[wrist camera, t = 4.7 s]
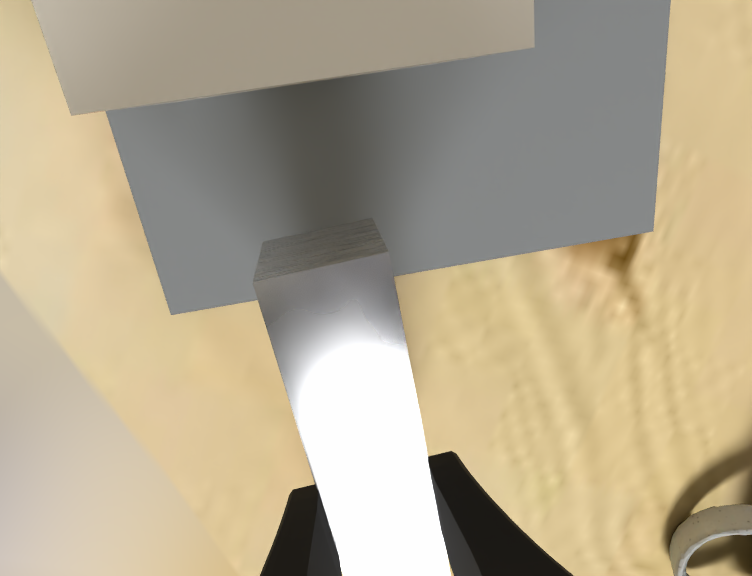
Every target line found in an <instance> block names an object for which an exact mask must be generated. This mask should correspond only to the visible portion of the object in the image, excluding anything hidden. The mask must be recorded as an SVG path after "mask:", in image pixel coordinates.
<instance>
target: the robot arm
mask: <svg viewBox="0 0 752 576" xmlns="http://www.w3.org/2000/svg"><path fill="white" fill-rule="evenodd" d="M428 459H429V463H428V466H429V471H430V476H431V481H432V487H433V492H434V497H435V502H436V507H437V513H438V518H439V523H440V528H441V533H442V537H443V541H444V544H445V548H446V551H447V555H448V558H449V562H450V565H451V568H452V571H453V573H454V576H573V575H572V574H571V573H570V572H568V571H567V570H566V569H565V568H564V567H562V566H561V565H560V564H559V563H558V562H556V561H555V560H554V559H553V558H552V557H551V556H549V555H548V554H547V553H546V552H545V551H544V550H543V549H542V548H541V547H539V546H538V545H537V544H536V543H535V542H534V541H533V540H532V539H531V538H530V537H529V536H528V535H527V534H526V533H525V532H523V531H522V530H521V529H520V528H519V527H518V526H517V525H516V524H515V523H514V522H513V521H512V520H511V519H510V518H509V517H508V515H507V514H506V513H505V512H504V511H503V510H502V509H501V508H500V507H499V506H498V505H497V504H496V503H495V502H494V501H493V500H492V498H491V497H490V496H489V495H488V494H487V493H486V492H485V491H484V489H483V488H482V487H481V486H480V485H479V483H478V482H477V481H476V480H475V479H474V477H473V476H472V475H471V474H470V472H469V471H468V470H467V468H466V467H465V466H464V464H463V463H462V461H461V460H460V459H459V457H458V455H457V454H456V453H454V452H452V451H449V452H445V453H441V454H437V455H433V456H429V457H428ZM260 576H342V572H341V564H340V557H339V554H338V551H337V548H336V545H335V541H334V538H333V535H332V532H331V528H330V525H329V522H328V519H327V516H326V512H325V509H324V506H323V503H322V499H321V496H320V493H319V490H317V488H316V485H315V484H314V485H310V486H306V487H302V488H298V489H294V490H293V491H292V492H291V493H290V495H289V498H288V501H287V505H286V508H285V511H284V514H283V517H282V520H281V523H280V526H279V529H278V531H277V534H276V537H275V539H274V542H273V545H272V547H271V550H270V552H269V555H268V557H267V559H266V562H265V564H264V567H263V569H262V572H261V574H260Z"/></svg>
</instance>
